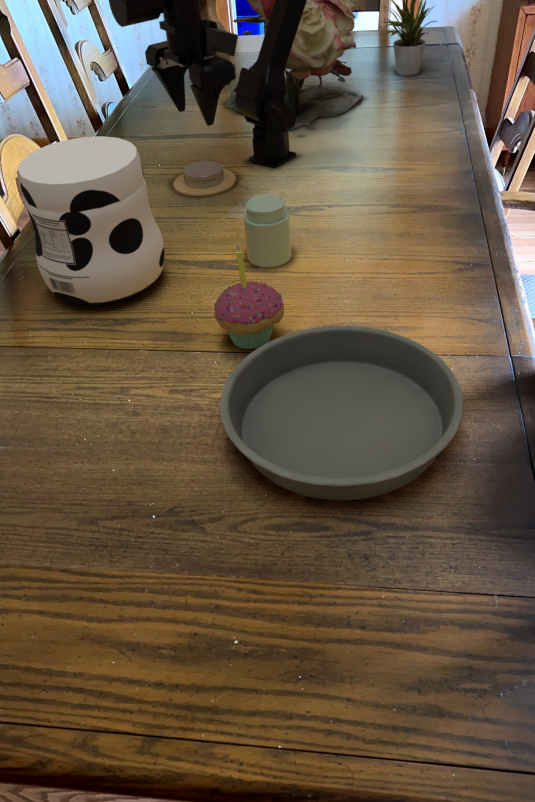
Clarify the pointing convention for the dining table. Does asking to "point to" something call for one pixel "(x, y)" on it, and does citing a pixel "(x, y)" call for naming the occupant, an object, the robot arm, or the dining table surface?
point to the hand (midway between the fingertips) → (195, 117)
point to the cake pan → (341, 411)
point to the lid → (203, 174)
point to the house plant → (408, 38)
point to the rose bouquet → (313, 57)
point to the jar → (267, 231)
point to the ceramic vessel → (210, 14)
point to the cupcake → (248, 310)
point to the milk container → (92, 219)
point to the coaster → (223, 186)
